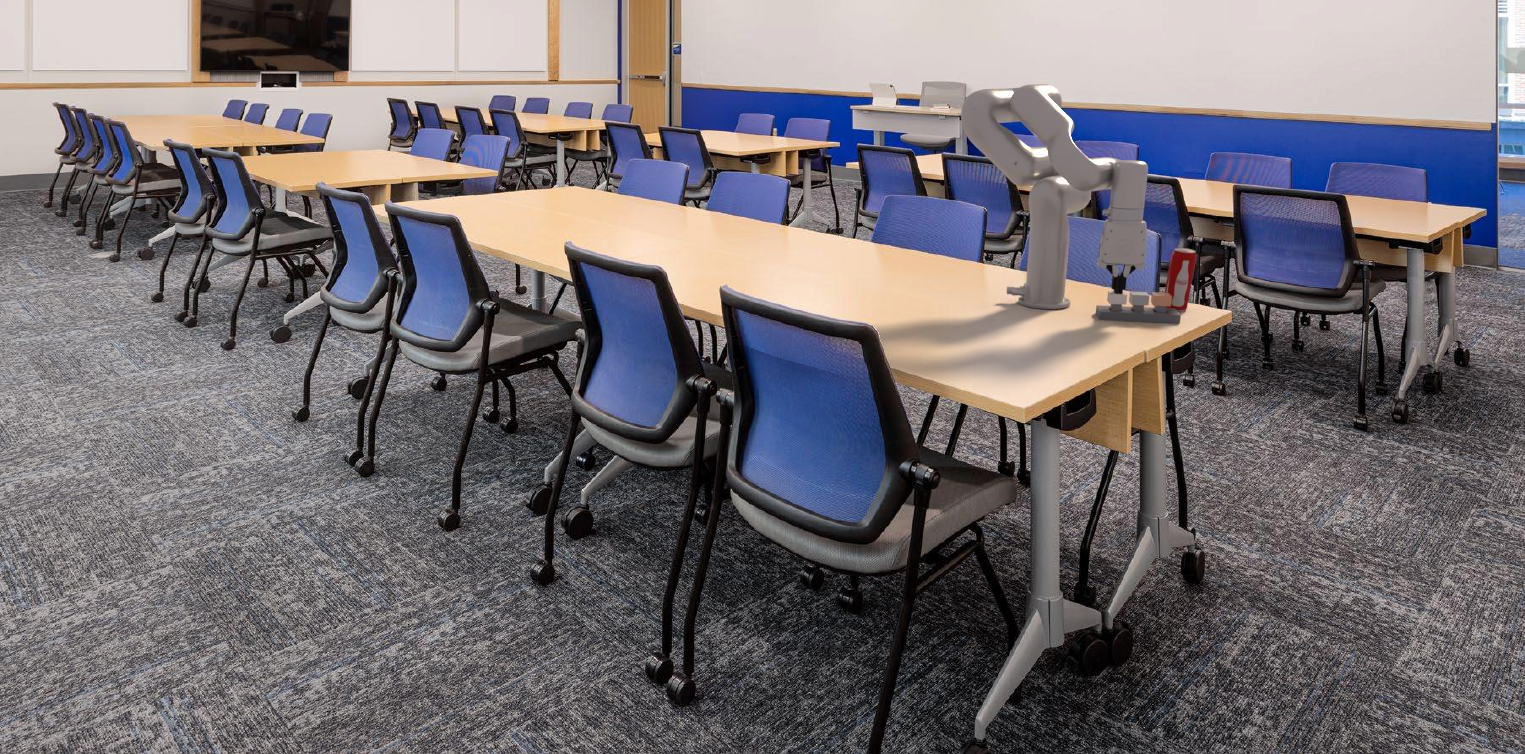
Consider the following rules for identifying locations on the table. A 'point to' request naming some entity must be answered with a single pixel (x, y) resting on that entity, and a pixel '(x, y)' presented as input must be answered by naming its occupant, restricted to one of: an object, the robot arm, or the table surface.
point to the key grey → (1139, 300)
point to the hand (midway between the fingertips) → (1117, 292)
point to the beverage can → (1180, 277)
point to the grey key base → (1138, 315)
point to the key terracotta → (1161, 301)
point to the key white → (1116, 300)
